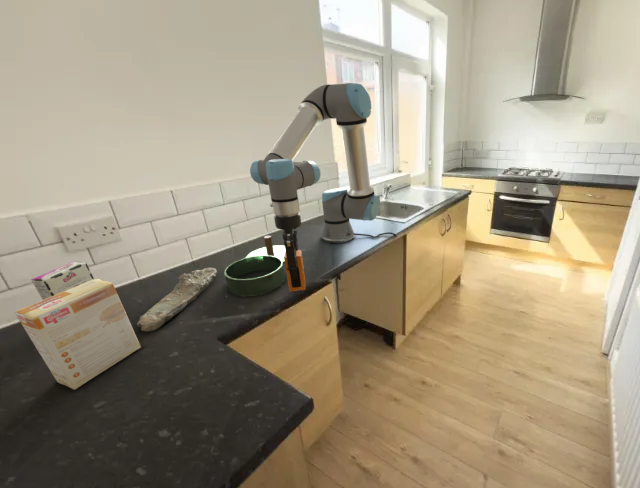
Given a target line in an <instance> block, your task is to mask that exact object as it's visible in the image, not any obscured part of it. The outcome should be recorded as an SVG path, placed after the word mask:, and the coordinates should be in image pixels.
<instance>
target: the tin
mask: <svg viewBox="0 0 640 488" xmlns="http://www.w3.org/2000/svg"><path fill="white" fill-rule="evenodd" d="M284 267H285V265H284V263H283V262H282V260H281V259H280V258H278V257H275V256H268V255H261V256H253V257H248V258H246V257H244V258H242V259H238V260H236V261H234V262H232V263H230V264H229V265H227V266H226V267H225V269H224V272H223V273H224V278H225V281H226V286H227V289H228V291H229V292H230V294H232V295H235V296H238V297H239V296H241V297H253V296H259V295H263V294H266V293H269V292H272V291H274V290H276V289H278V288H279V287H281V286H282V285H283V284H284V282H285V281H286V274H285V273H286V271H285V268H284ZM259 271H272V272H270V273H268V274H265V275H263V276H258V277H252V278H245V279H244V278H240V277H242V276H244V275H247V274H250V273H254V272H259Z"/></svg>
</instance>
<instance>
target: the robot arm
mask: <svg viewBox="0 0 640 488" xmlns="http://www.w3.org/2000/svg"><path fill="white" fill-rule="evenodd" d="M297 107H298V108H297V112H296V115H295V116H294V117H293V119H292V120H291V121H290V123H289V124H288V126H287V127H286V128H285V130H284V131H283V132H282V134H281V136H279V138H278V140H276V142H275V143H274V145H273V146H272V148H271V149H270V150H269V152H268V153H267V155H266V156H265V157H264V159H263V160H262V159H259V160H255V161H253V162H252V163H251V165H250V167H249V173H250V177H251V179H252V180H253V182H255V183H257V184H259V185H265V186H268V189H269V194H270V200H271V203H269V207H271V208H272V212H273V214H274V216H273V219H274V226H275V228H276V229H278V230H282V232H283V233H282V239H283V246H285V250H286V256H287V262H288V268H287V270H289V271H290V276H291V282H292V288H294V287H301V281H300V274H299V267H298V265H297V257H296V250H299V243H298V230H296V229H297V228H300V227H301V225H302V217H301V213H299V212H301V209H300V202H299V196H298V190H301V189H305V188H308V187H311V186H313V185H315V184H316V183H318V182H319V181H320V179H321V176H322V175H321V168H320V167H319V165H318V164H317V163H316V162H314V161H313V160H303V161H294V160H295V158H296V157H297V155H298V154H299V153H300V151H301V150H302V148H303V146H305V145H304V144H305V143H306V141H307V140H308V139H309V137H310V136H311V134H312V133H313V131H314V130H315V128H316V127H318V126H320V125H321V124H322V123H323V121H325V120H330V119H333V120H335V123H336V126H337V127H338V128H340V130H341V136H342V142H343V149H344V155H345V163H346V169H347V170H346V171H347V177H348V183H349V188H346V187H336V188H331V189H327V190H324V192H322V193H321V204H322V211H323V212H322V213H323V221H324V224H323V229H322V233H321V239H322V240H323V241H324V242H327V243H330V244H343V243H348V242H350V241H352V240H354V238H355V236H364V237H370V238H372V239H378V238H379V237H380V236H383V235H393V236H395V237H397V236H398V235H397V234H396V233H393V232H389V231H388V232H382V233H379V234H377V235H372V234H366V233H355V232H354V229H353V226H352V224H351V221H350V220H357V221H364V222H365V221H370V222H371V221H374V220H375V219H376V218H377V216H378V215H379V212H380V209H381V208H380V207H381V198H380V195H379V194H377V193H375V188H374V187H373V186H372V185H371V182H370V174H369V172H370V171H369V166H368V165H369V164H368V154H367V146H366V145H367V144H366V137H365V129H364V127H365V126H366V124H367V123H368V118H369V117H370V116H371V114H372V101H371V96H370V94H369V91H368V89H367V88H366V87H365V85H363V84H361V83H359V82H345V83H344V82H343V83H334V84H333V83H332V84H324V85H320V86H318V87H316V88H315V89H313V90H312V91H311V92H310V93H309V94H308V95H306V97H305V98H304V99H302V101H301V102H300V104H299V105H298V106H297Z"/></svg>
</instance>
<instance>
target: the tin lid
mask: <svg viewBox="0 0 640 488" xmlns="http://www.w3.org/2000/svg"><path fill="white" fill-rule="evenodd" d="M263 239H264V245H265V246H263V247H261V248H256V249H255V250H252V251H251V252H249V253H248V254H247V255H246V256H245V258H248V257H253V256H261V255H268V256H275V257H278V258H280V259H281V260H282V262H283V264H285V261H284V256H285V251H286V250H285V245H274V244H273V240H272V235H265V236H264V237H263Z"/></svg>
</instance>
